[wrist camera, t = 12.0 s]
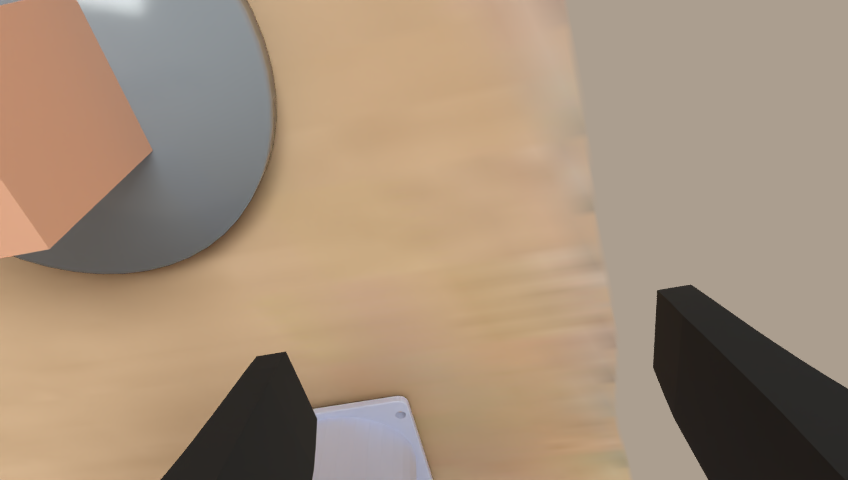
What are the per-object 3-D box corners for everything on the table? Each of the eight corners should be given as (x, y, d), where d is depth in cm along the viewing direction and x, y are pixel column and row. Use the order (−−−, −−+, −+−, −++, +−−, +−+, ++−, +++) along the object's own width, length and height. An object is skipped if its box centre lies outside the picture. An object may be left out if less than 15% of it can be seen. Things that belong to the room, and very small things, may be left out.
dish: (327, 222, 21) (323, 238, 20) (0, 282, 22) (-19, 301, 21) (164, -249, 13) (144, -262, 12) (-318, -119, 14) (-373, -121, 13)
